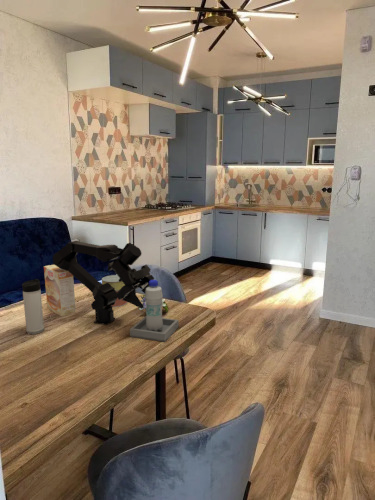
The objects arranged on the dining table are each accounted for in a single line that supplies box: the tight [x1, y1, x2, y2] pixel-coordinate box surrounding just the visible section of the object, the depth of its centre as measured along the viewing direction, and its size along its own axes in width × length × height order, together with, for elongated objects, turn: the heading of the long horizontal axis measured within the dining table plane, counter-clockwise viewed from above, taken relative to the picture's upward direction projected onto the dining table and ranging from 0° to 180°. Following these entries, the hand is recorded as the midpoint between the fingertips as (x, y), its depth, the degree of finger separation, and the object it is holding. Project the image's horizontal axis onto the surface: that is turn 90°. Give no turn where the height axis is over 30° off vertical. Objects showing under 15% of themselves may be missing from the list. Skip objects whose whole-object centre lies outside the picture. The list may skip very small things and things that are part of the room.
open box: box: [129, 315, 180, 343], centre depth 144 cm, size 14×14×3 cm
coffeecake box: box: [43, 264, 77, 317], centre depth 166 cm, size 15×7×20 cm, turn 42°
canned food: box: [101, 274, 128, 308], centre depth 176 cm, size 11×11×12 cm
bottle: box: [144, 279, 164, 332], centre depth 143 cm, size 7×7×20 cm
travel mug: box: [21, 278, 45, 335], centre depth 144 cm, size 6×7×20 cm
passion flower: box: [138, 294, 169, 313], centre depth 164 cm, size 11×11×12 cm
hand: (149, 304), depth 143 cm, fingers open, 9 cm apart
